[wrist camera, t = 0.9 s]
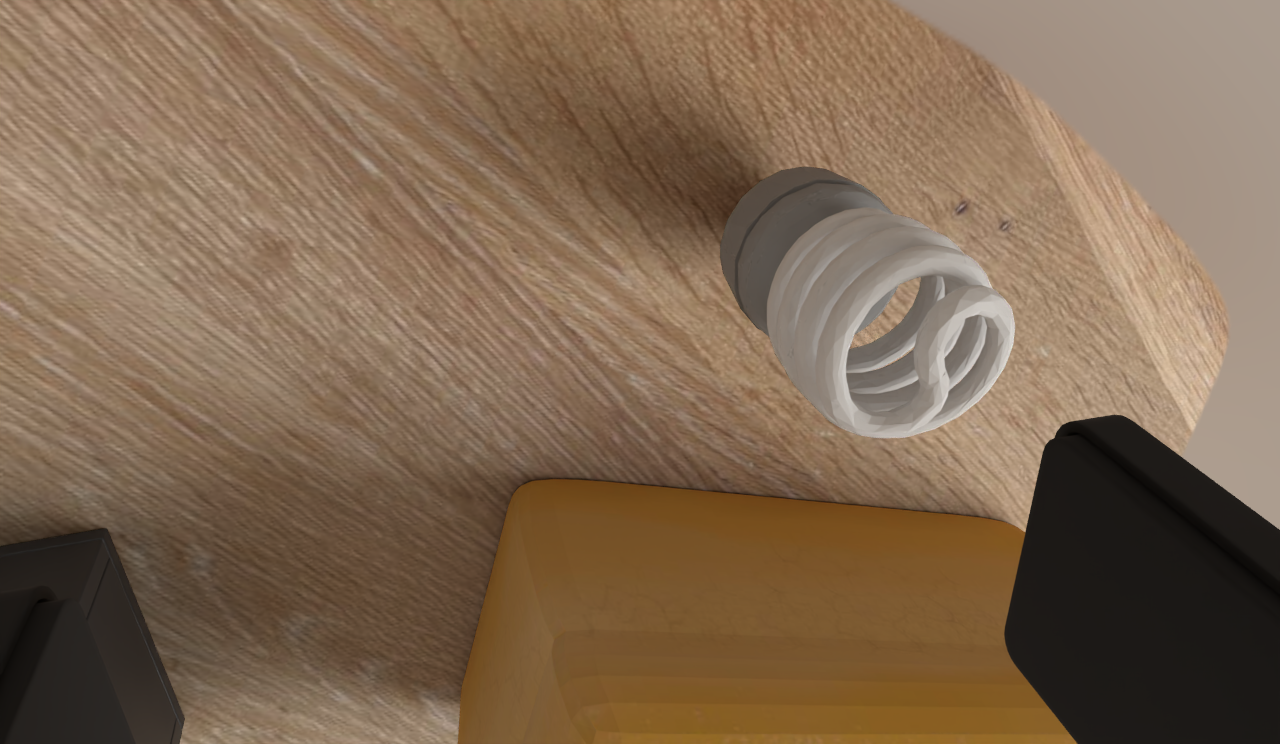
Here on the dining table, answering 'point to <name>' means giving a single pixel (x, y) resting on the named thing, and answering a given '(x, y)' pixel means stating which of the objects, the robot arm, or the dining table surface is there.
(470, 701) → the bread
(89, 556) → the sorting tray
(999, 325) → the light bulb
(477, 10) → the dining table surface
